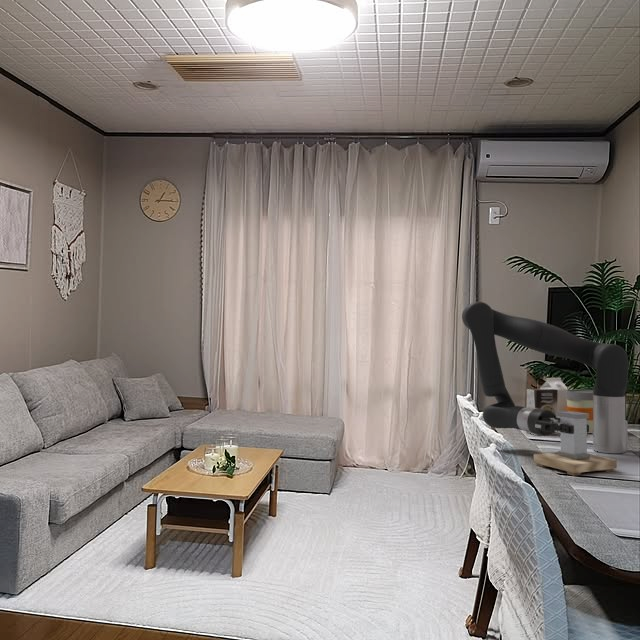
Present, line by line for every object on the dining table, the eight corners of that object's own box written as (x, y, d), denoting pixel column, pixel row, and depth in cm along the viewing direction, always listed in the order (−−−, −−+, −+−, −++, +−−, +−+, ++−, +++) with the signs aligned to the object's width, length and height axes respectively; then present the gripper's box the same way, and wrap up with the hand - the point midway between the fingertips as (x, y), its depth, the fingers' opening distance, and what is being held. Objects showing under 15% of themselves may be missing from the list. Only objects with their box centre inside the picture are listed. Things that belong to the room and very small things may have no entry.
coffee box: (535, 435, 242) (535, 389, 242) (525, 432, 248) (525, 388, 249) (558, 434, 245) (558, 389, 245) (547, 431, 251) (547, 387, 251)
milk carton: (539, 427, 262) (540, 377, 262) (554, 426, 265) (554, 376, 265) (553, 429, 256) (553, 378, 256) (567, 428, 259) (567, 378, 259)
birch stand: (574, 461, 197) (574, 450, 197) (616, 471, 183) (616, 460, 183) (533, 465, 191) (533, 454, 191) (574, 476, 177) (574, 464, 177)
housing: (570, 454, 191) (570, 411, 192) (589, 458, 185) (589, 413, 185) (558, 455, 189) (557, 411, 190) (577, 459, 183) (576, 414, 183)
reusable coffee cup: (565, 433, 247) (565, 391, 247) (565, 428, 259) (565, 388, 259) (603, 435, 243) (603, 393, 243) (601, 430, 255) (601, 390, 255)
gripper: (517, 409, 198) (560, 416, 182) (555, 407, 204) (600, 414, 188) (516, 435, 198) (560, 445, 182) (555, 432, 204) (600, 441, 188)
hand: (580, 429), depth 185 cm, fingers open, 5 cm apart
